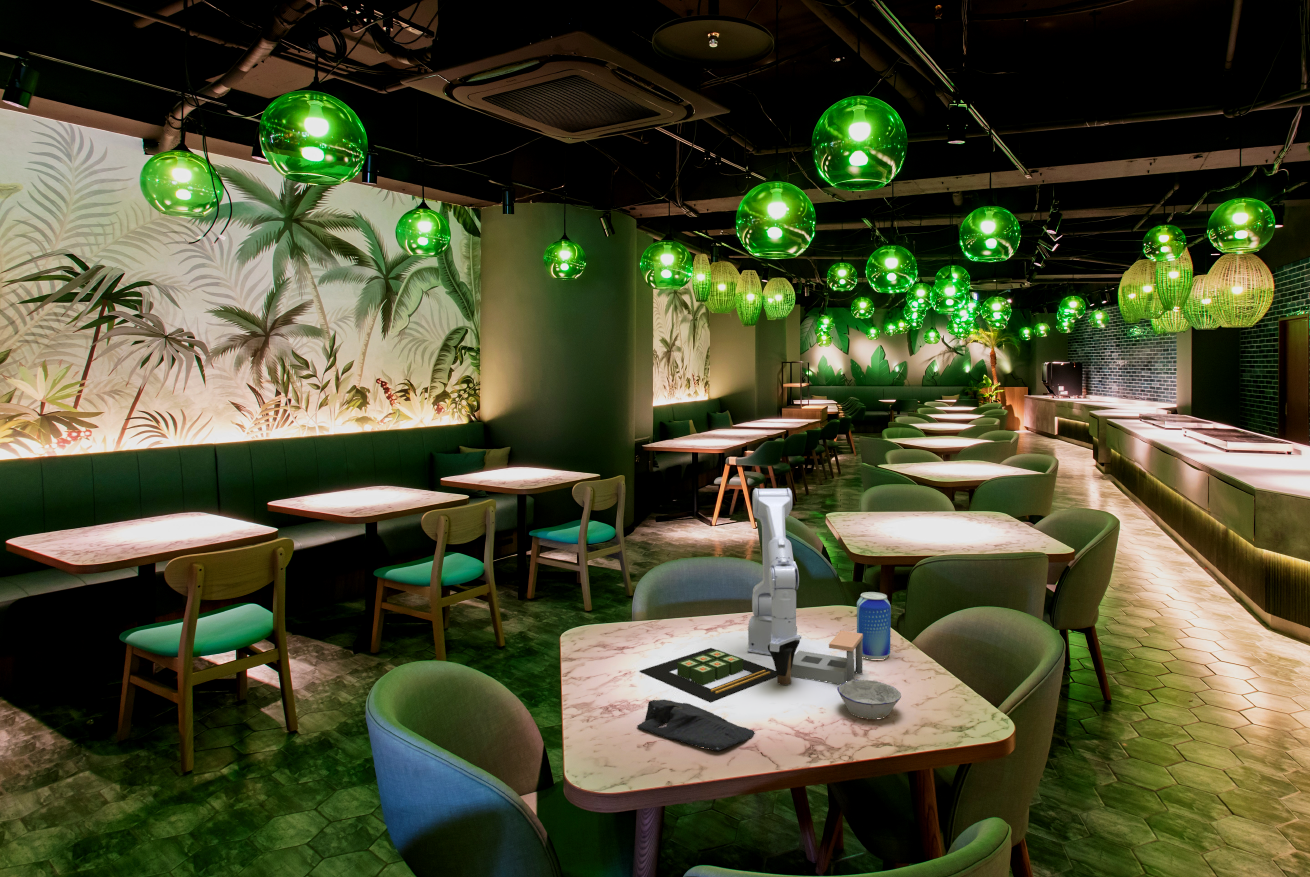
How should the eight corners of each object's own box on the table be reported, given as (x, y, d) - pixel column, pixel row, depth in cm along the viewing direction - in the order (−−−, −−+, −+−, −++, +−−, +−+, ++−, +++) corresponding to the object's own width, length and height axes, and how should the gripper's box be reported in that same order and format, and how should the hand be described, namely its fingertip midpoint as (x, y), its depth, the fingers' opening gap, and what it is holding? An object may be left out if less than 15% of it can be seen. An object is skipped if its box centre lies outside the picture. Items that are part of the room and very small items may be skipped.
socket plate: (786, 675, 177) (786, 663, 177) (798, 661, 185) (798, 650, 185) (844, 685, 170) (844, 672, 170) (854, 670, 179) (854, 658, 179)
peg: (775, 683, 171) (775, 654, 171) (779, 678, 174) (779, 650, 174) (788, 685, 170) (788, 656, 169) (792, 681, 172) (792, 652, 172)
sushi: (710, 705, 161) (710, 688, 161) (639, 674, 180) (639, 659, 180) (783, 676, 178) (783, 661, 177) (711, 650, 197) (710, 637, 196)
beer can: (886, 650, 193) (886, 591, 192) (893, 661, 185) (894, 599, 184) (854, 650, 194) (854, 590, 193) (860, 661, 185) (860, 599, 185)
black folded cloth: (714, 764, 135) (713, 739, 135) (630, 728, 150) (630, 706, 150) (761, 736, 146) (761, 712, 146) (679, 705, 161) (679, 684, 161)
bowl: (824, 709, 157) (824, 687, 157) (863, 695, 165) (863, 674, 164) (873, 730, 147) (873, 707, 146) (912, 714, 154) (913, 692, 154)
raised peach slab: (828, 683, 171) (828, 643, 171) (840, 668, 181) (840, 630, 180) (852, 687, 169) (852, 647, 168) (863, 671, 178) (863, 633, 178)
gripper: (790, 626, 163) (791, 685, 163) (809, 609, 175) (809, 664, 176) (760, 622, 166) (761, 680, 167) (781, 606, 179) (781, 660, 180)
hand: (784, 672), depth 172 cm, fingers closed on peg, 3 cm apart
